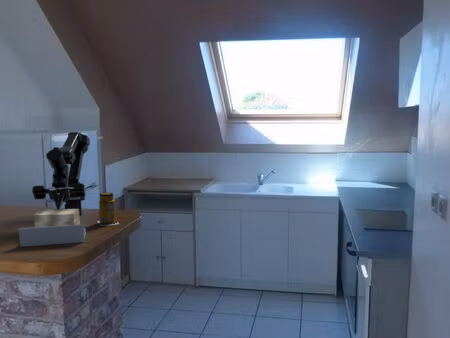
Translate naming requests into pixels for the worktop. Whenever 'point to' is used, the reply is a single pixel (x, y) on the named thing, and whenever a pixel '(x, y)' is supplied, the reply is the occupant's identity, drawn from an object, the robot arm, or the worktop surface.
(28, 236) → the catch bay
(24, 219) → the worktop surface
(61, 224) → the wide block
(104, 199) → the condiment
